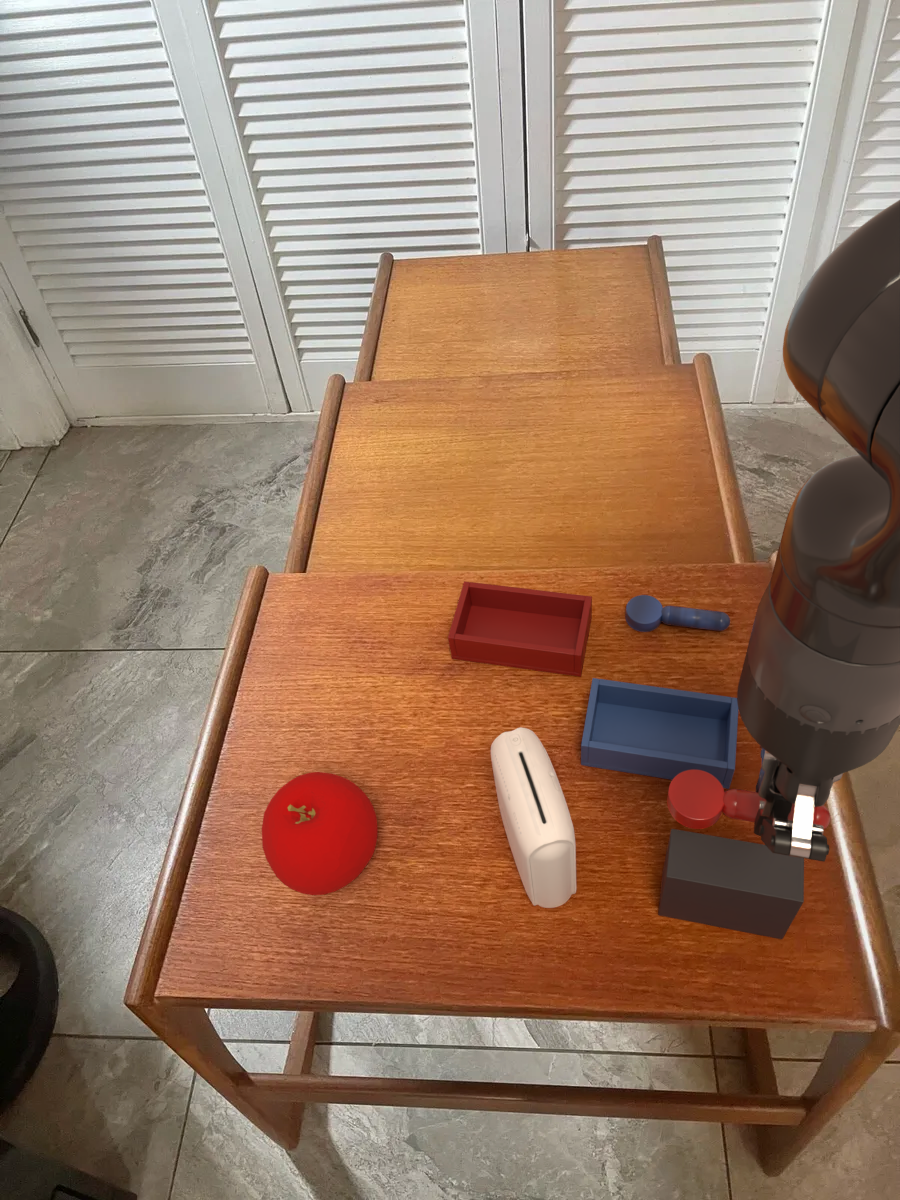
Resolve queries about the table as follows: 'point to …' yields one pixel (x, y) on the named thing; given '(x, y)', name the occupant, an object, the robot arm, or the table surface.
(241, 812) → the table surface
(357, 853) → the fruit
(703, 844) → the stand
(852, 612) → the robot arm
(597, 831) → the table surface
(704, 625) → the blue spoon
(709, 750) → the blue bin
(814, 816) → the red spoon
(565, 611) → the red bin
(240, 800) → the table surface
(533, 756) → the photo printer
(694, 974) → the table surface
